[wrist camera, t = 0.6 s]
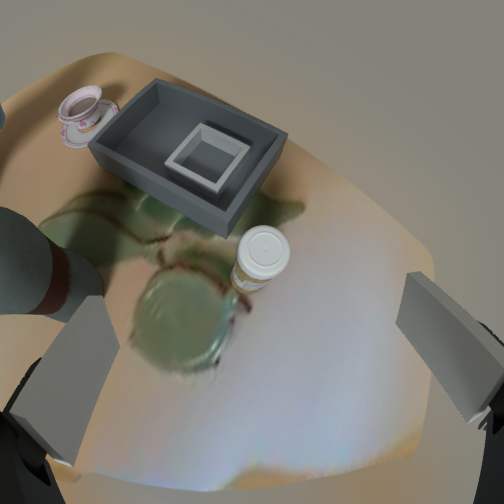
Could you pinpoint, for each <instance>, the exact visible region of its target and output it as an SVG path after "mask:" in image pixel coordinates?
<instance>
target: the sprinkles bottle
mask: <svg viewBox="0 0 504 504" xmlns="http://www.w3.org/2000/svg"><path fill="white" fill-rule="evenodd" d="M290 254H291V250H290V245H289V242H288V240H287V238H286V237H285V235H284V234H283V233H282V232H281V231H279V230H278V229H276V228H274V227H271V226H267V225H260V226H255V227H253V228H251V229H249V230H248V231H247V232H245V234H244V235H243V236H242V238H241V240H240V242H239V245H238V249H237V257H236V260H235V263H234V266H233V268H232V271H231V276H230V277H231V282H232V285H233V286H234V287H235V289H237V290H238V291H239V292H241V293H244V294H252V293H255V292H257V291H258V290H259V289H261V287H262V286H264V285H265V284H266V283H267V282H268V281H269V280H271V279H272V278H273V277H275V276H276V275H278V274H279V273H280V272H281V271H282V270H283V269H284V268H285V267H286V266H287V264H288V262H289V259H290Z"/></svg>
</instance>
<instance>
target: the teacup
mask: <svg viewBox="0 0 504 504" xmlns="http://www.w3.org/2000/svg"><path fill="white" fill-rule="evenodd" d="M101 95H102V90H101V88H100V87H98V86H87V87H83V88H81V89H78V90H76V91H75V92H73V93H72V94H70V95H69V96H68V97H67V98H66V99H65V100H64V101H63V102H62V103H61V105H60V107H59V110H58V113H59V114H57V115H56V117H58V116H59V117H58V118H59V120H60V121H62V122H64V125H63V127H62V132H61V137H62V141H63V142H64V144H65V145H66V146H68V147H71V148H83V147H87V144H88V143H89V142H90V141H91V140H92V138H93V137H94V136H95V135H96V134H97V133H98V132H99V131H100V130H101V129H102V128H103V127H104V126H105V125H106V124H107V122H108V121H109V120H110V119H111V118H112V117H113V116H114V115H115V114H116V113H118V112H119V110H118V108H117V105H116V104H115V103H114V102H112V101H111V100H106V99H100V97H101ZM100 117H101V121H100V123H99V125H98V126H97V127H96V128H95V129H94V130H92V131H90V132H87V133H82V132H80V131H79V130H78V129H88V128H91V127H93V126H94V125H95V124H96V122H97V121H98V119H99V118H100ZM63 118H65V119H63ZM66 119H67V120H66Z"/></svg>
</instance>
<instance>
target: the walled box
mask: <svg viewBox="0 0 504 504" xmlns="http://www.w3.org/2000/svg"><path fill="white" fill-rule="evenodd" d="M287 137H288V134H287V133H286V132H284V131H282V130H280V129H278V128H276V127H274V126H272V125H270V124H268V123H266V122H264V121H262V120H260V119H257V118H255V117H253V116H251V115H249V114H247V113H245V112H242V111H240V110H238V109H236V108H233V107H231V106H229V105H227V104H224V103H222V102H219V101H217V100H215V99H212V98H210V97H207V96H205V95H202V94H200V93H197V92H194V91H192V90H189V89H186V88H184V87H181V86H178V85H175V84H172V83H169V82H166V81H163V80H160V79H157V78H156V79H154V80H153V81H152V82H151V83H150V84H148V85H147V86H146V87H145V88H144V89H142V90H141V91H140V92H139V93H138V94H137V95H136V96H135V97H133V98H132V99H131V100H130V101H129V102H128V103H127V104H126V105H125V106H124V107H123V108H122V109H121V110H120V111H119V112H118V113H116V114H115V115H114V116H113V117H112V118H111V119H110V120H109V121H108V122H107V124H106V125H105V126H104V127H103V128H102V129H101V130H100V131H99V132H98V133H97V134H96V135H95V136H94V137H93V138H92V140H91V141H90V142H89V143H88V144H87V146H88V147H89V149H90V151H91V152H92V154H93V156H94V157H95V159H96V161H97V162H98V164H99V166H101V167H102V168H104V169H106V170H107V171H109V172H111V173H113V174H114V175H116V176H118V177H119V178H121V179H123V180H125V181H126V182H128V183H130V184H131V185H133V186H135V187H137V188H138V189H140V190H142V191H143V192H145V193H147V194H149V195H150V196H152V197H154V198H155V199H157V200H159V201H161V202H162V203H164V204H166V205H168V206H169V207H171V208H173V209H174V210H176V211H178V212H180V213H181V214H183V215H185V216H186V217H188V218H190V219H192V220H193V221H195V222H197V223H199V224H200V225H202V226H204V227H205V228H207V229H209V230H211V231H212V232H214V233H216V234H217V235H219V236H221V237H223V238H224V239H227V238H228V236H229V234H230V233H231V231H232V230H233V228H234V226H235V225H236V223H237V222H238V220H239V219H240V217H241V216H242V214H243V212H244V211H245V209H246V208H247V206H248V205H249V203H250V202H251V200H252V198H253V197H254V195H255V194H256V192H257V191H258V189H259V188H260V186H261V185H262V183H263V182H264V180H265V179H266V177H267V176H268V174H269V172H270V171H271V169H272V168H273V166H274V165H275V163H276V162H277V160H278V159H279V157H280V155H281V152H282V150H283V147H284V144H285V142H286V139H287Z"/></svg>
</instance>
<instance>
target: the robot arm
mask: <svg viewBox="0 0 504 504" xmlns="http://www.w3.org/2000/svg"><path fill="white" fill-rule="evenodd" d="M4 122H5V114H4V111H3V109H2V106H1V104H0V129H1V128H2V127H3V125H4ZM396 325H397V326H398V327H399V329H400V330H401V331H402V333H403V334H404V335H405V336H406V338H407V339H408V340H409V342H410V343H411V344H412V346H413V347H414V348H415V350H416V351H417V352H418V354H419V355H420V356H421V358H422V359H423V360H424V362H425V363H426V364H427V366H428V367H429V368H430V370H431V371H432V373H433V374H434V375H435V377H436V378H437V380H438V381H439V382H440V384H441V385H442V387H443V388H444V390H445V391H446V392H447V394H448V395H449V397H450V398H451V400H452V401H453V403H454V404H455V406H456V407H457V409H458V410H459V412H460V413H461V415H462V417H463V418H464V419H465V421H466V423H467V424H468V423H470V422H471V421H473V420H474V419H476V418H478V417H479V416H481V414H482V413H483V412H484V410H485V409H486V408H487V406H488V405H489V406H490V408H491V410H490V412H489V413H488V414H487V416H486V417H485V418H484V419H483V421H482V422H481V423H480V425H479V427H478V429H481V428H482V426H483V425H484V424H485V423H486V422H487V425H486V426H485V427H484V429H483V430H486V440H485V448H484V455H483V461H482V467H481V473H480V478H479V482H478V487H477V491H476V495H475V499H474V502H473V504H504V343H503V342H502V341H501V340H499V338H498V337H497V336H496V335H495V334H493V332H492V331H491V330H490V329H488V327H487V326H485V325H484V324H482V323H480V322H478V321H477V320H475V319H474V318H473V317H472V316H471V315H470V314H469V313H468V312H467V311H466V310H465V309H463V308H462V307H461V306H460V305H459V304H458V303H457V302H456V301H454V300H453V299H452V298H451V297H450V296H449V295H448V294H446V293H445V292H444V291H443V290H442V289H441V288H439V287H438V286H437V285H436V284H435V283H434V282H432V281H431V280H430V279H429V278H427V277H426V276H425V275H424V274H423V273H421V272H420V271H419V272H411V273H407V277H406V282H405V287H404V291H403V296H402V300H401V304H400V308H399V312H398V316H397V320H396ZM119 348H120V345H119V342H118V339H117V337H116V334H115V332H114V329H113V326H112V323H111V320H110V317H109V315H108V312H107V309H106V306H105V302H104V299H103V296H87V297H86V299H85V300H84V301H83V303H82V304H81V305H80V306H79V308H78V309H77V310H76V312H75V313H74V314H73V315H72V317H71V318H70V319H69V321H68V322H67V323H66V325H65V326H64V328H63V329H62V330H61V332H60V333H59V334H58V336H57V337H56V339H55V340H54V341H53V343H52V344H51V346H50V347H49V349H48V350H47V351H46V353H45V354H44V356H43V357H42V358H41V357H40V358H39V359H38V360H37V361H35V362H34V363H33V364H32V365H31V366H30V368H29V369H28V371H27V372H26V374H25V377H23V378H22V380H21V382H20V385H18V386H17V388H16V390H15V391H14V393H13V395H12V396H11V398H10V400H9V401H8V403H7V405H6V407H5V408H4V410H3V412H2V413H1V411H0V504H66V503H65V501H64V499H63V497H62V495H61V492H60V490H59V488H58V485H57V483H56V480H55V478H54V475H53V473H52V470H51V467H50V465H49V463H48V461H47V460H46V459H45V457H46V454H47V453H48V454H49V455H50V456H51V457H52V458H53V459H54V460H55V461H56V462H59V463H62V464H65V465H68V466H71V467H74V464H75V461H76V457H77V454H78V451H79V448H80V445H81V442H82V440H83V437H84V434H85V431H86V428H87V425H88V423H89V420H90V417H91V415H92V412H93V410H94V407H95V404H96V402H97V399H98V397H99V394H100V392H101V389H102V387H103V385H104V382H105V380H106V377H107V375H108V373H109V370H110V368H111V366H112V363H113V361H114V359H115V357H116V354H117V352H118V350H119Z"/></svg>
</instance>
